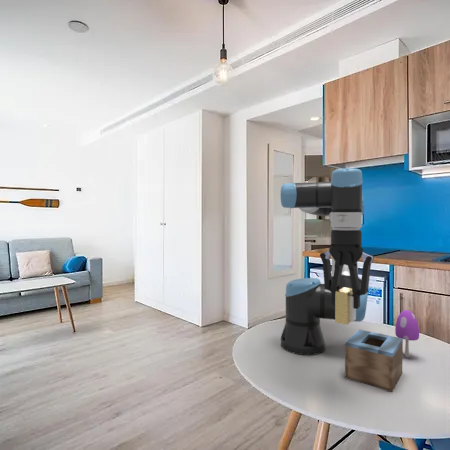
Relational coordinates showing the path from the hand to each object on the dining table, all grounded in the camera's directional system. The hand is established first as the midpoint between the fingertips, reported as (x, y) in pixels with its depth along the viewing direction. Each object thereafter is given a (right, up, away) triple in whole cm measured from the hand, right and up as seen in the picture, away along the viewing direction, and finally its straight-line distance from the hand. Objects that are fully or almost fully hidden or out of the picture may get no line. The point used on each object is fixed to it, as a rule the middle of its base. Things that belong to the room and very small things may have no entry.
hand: (345, 318), depth 84 cm
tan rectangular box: (0, 0, 0) cm, 0 cm away
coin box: (+11, -18, +8) cm, 23 cm away
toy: (+27, -18, +20) cm, 38 cm away
